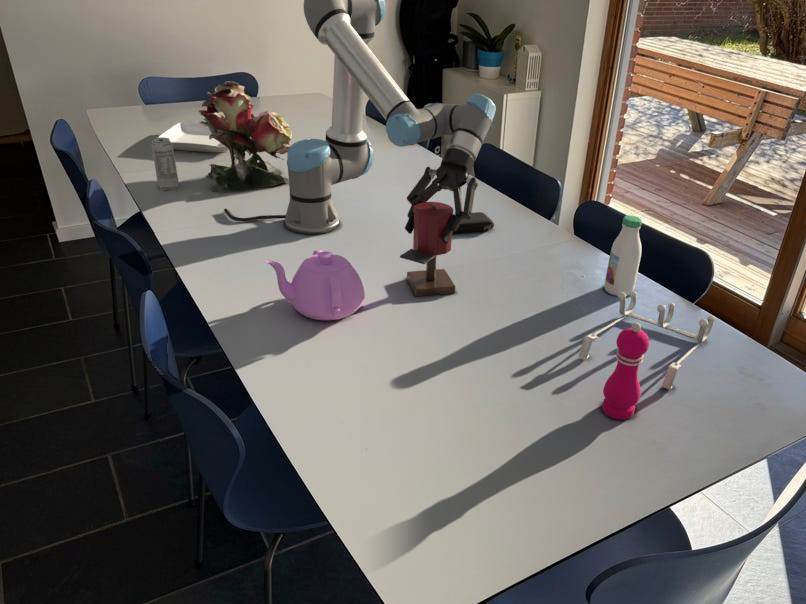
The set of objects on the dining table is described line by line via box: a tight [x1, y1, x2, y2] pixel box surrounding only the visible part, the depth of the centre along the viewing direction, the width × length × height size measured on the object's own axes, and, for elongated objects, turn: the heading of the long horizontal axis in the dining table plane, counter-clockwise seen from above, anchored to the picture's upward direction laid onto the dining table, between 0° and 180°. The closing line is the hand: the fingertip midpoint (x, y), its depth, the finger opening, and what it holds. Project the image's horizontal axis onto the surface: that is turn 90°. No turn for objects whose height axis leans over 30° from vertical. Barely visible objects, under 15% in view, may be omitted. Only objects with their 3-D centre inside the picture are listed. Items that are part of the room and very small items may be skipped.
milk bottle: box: [603, 214, 643, 297], centre depth 183 cm, size 8×8×20 cm
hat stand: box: [406, 255, 456, 297], centre depth 178 cm, size 10×10×19 cm
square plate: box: [156, 121, 230, 154], centre depth 265 cm, size 27×27×4 cm
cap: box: [399, 201, 454, 265], centre depth 173 cm, size 14×10×11 cm
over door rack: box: [578, 290, 716, 391], centre depth 162 cm, size 22×29×10 cm
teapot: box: [265, 249, 366, 321], centre depth 165 cm, size 22×22×14 cm
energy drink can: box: [150, 136, 180, 191], centre depth 223 cm, size 6×6×15 cm
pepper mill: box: [602, 322, 650, 420], centre depth 138 cm, size 7×7×20 cm
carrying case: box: [452, 211, 495, 234], centre depth 216 cm, size 11×3×15 cm
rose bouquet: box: [197, 80, 293, 193], centre depth 232 cm, size 26×29×30 cm
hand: (426, 236), depth 173 cm, fingers closed on cap, 9 cm apart
